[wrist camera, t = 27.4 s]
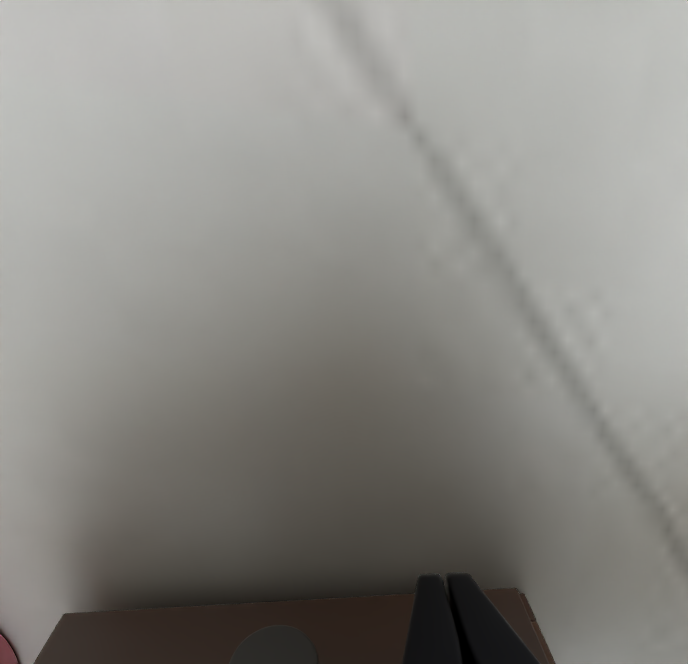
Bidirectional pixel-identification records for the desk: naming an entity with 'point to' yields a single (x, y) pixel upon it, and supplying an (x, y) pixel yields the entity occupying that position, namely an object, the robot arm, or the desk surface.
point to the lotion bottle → (6, 652)
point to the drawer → (258, 632)
